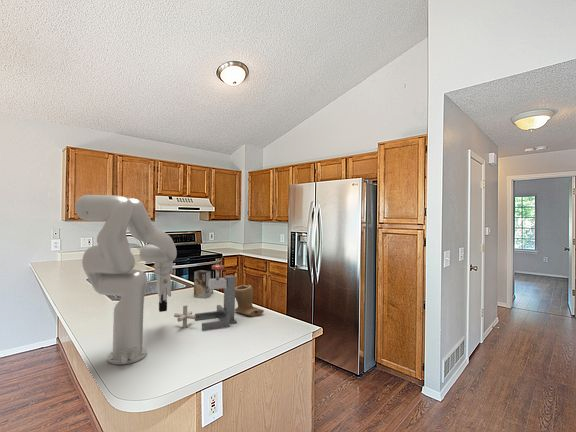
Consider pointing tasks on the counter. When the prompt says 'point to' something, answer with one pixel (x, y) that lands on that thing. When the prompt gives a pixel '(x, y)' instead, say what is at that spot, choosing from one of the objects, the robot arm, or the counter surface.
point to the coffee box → (201, 283)
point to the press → (222, 309)
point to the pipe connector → (184, 316)
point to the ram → (217, 279)
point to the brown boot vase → (246, 301)
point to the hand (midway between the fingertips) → (162, 310)
